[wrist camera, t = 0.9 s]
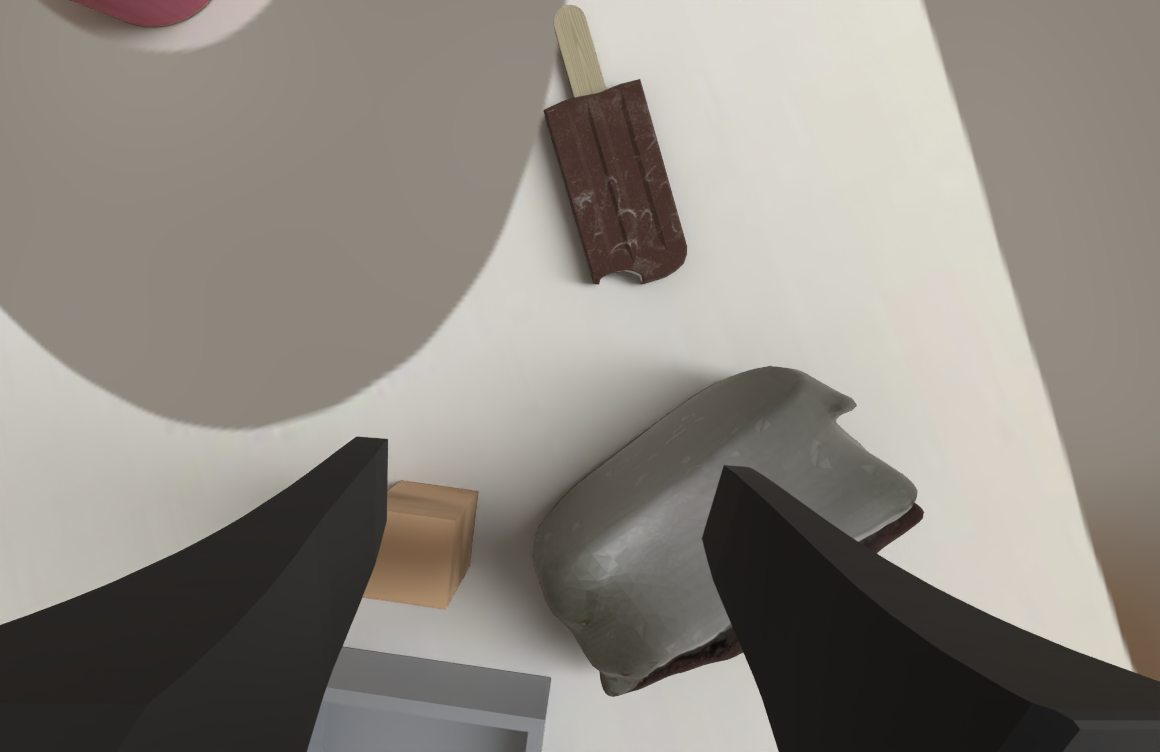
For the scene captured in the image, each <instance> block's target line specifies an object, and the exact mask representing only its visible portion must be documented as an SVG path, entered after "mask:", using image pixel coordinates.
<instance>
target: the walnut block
mask: <svg viewBox="0 0 1160 752" xmlns="http://www.w3.org/2000/svg"><path fill="white" fill-rule="evenodd" d="M477 499H478V491H473V490H466V489H459V488H452V487H444V486H437V485H430V484H423V483H416V482H409V481H400V482H399V483H397V484H396V485H395V486H393V487H392V488H391V489H389V490H388V491H387V522H386V526H385V530H384V534H383V538H382V542H381V546H380V549H379V553H378V556H377V560H376V564H375V567H374V569H373V572H372V574H371V577H370V579H369V582H368V584H367V587H366V589H365V592H364V594H363V598H370V599H377V600H384V601H391V602H398V603H405V604H411V605H418V606H425V607H432V608H439V609H446V608H447V606H448V604H449V602H450V601H451V599H452V597H453V595H454V593H455V592H456V590H457V588H458V586H459V584H460V583H461V581H462V579H463V577H464V575H465V574H466V572H467V570H468V568H469V566H470V558H471V549H472V541H473V533H474V524H475V516H476V507H477Z"/></svg>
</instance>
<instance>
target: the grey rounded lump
mask: <svg viewBox="0 0 1160 752" xmlns="http://www.w3.org/2000/svg"><path fill="white" fill-rule="evenodd" d="M856 406H857V405H856V403H855V402H854V400H853V399H852V398H850V397H848V396H846V395H844V394H841V393H839V392H838V391H836V390H834V389H832V388H830V387H828V386H827V385H825V384H823V383H821V382H820V381H818V380H816V379H814V378H813V377H811V376H809V375H808V374H806V373H804V372H802V371H799V370H796V369H789V368H781V367H772V366H768V367H763V368H757V369H752V370H749V371H746V372H742V373H739V374H737V375H734V376H732V377H729V378H727V379H724V380H722V381H720V382H718V383H716V384H714V385H712V386H710V387H709V388H707V389H705V390H703V391H702V392H700V393H698V394H697V395H695V396H693V397H692V398H690V399H689V400H687V401H686V402H685V403H683V404H682V405H680V406H679V407H677V408H676V409H675V410H673V411H672V412H671V413H669V414H668V415H666V416H665V417H664V418H662V419H661V420H660V421H658V422H657V423H656V424H655V425H653V426H652V427H651V428H649V429H648V430H647V431H646V432H644V433H643V434H642V435H641V436H639V437H638V438H637V439H635V440H634V441H633V442H632V443H630V444H629V445H628V446H626V447H625V448H624V449H622V450H621V451H620V452H618V453H617V454H616V455H614V456H613V457H612V458H610V459H609V460H608V461H607V462H605V463H604V464H603V465H601V466H600V467H599V468H598V469H596V470H595V471H594V472H592V473H591V474H590V475H588V476H587V477H586V478H585V479H583V480H582V481H581V482H580V483H578V484H577V485H576V486H575V487H574V488H572V489H571V490H570V491H569V492H568V493H567V494H566V495H565V496H564V497H563V498H562V499H561V500H560V501H559V502H558V503H557V505H556V506H555V507H554V508H553V509H552V510H551V511H550V513H549V514H548V515H547V516H546V517H545V519H544V520H543V522H542V523H541V524H540V526H539V527H538V530H537V532H536V534H535V538H534V543H533V561H534V565H535V569H536V572H537V576H538V579H539V583H540V586H541V589H542V591H543V594H544V597H545V600H546V603H547V604H548V606H549V608H550V609H551V611H552V612H553V614H554V615H555V616H556V617H558V618H559V619H560V620H561V621H562V622H563V623H564V624H565V625H566V626H567V627H568V628H569V629H570V630H571V632H572V633H573V634H574V636H575V638H576V640H577V641H578V643H579V645H580V647H581V649H582V650H583V652H584V654H585V656H586V657H587V659H588V660H589V661H590V663H591V664H592V666H594V667H595V668H596V669H598V670H599V671H600V680H601V684H602V687H603V690H604V691H605V693H606V694H607V695H609V696H613V697H614V696H619V695H622V694H625V693H628V692H631V691H635V690H639V689H641V688H644V687H646V686H648V685H650V684H653V683H655V682H657V681H659V680H661V679H663V678H666V677H668V676H671V675H674V674H677V673H682V672H686V671H688V670H691V669H694V668H697V667H700V666H703V665H706V664H709V663H714V662H719V661H724V660H728V659H730V658H733V657H735V656H737V655H739V654H741V653H743V650H742V648H741V646H740V643H739V641H738V639H737V636H736V634H735V632H734V629H733V627H732V625H731V622H730V620H729V618H728V615H727V613H726V611H725V608H724V606H723V603H722V601H721V599H720V596H719V594H718V591H717V589H716V586H715V584H714V581H713V579H712V575H711V572H710V568H709V565H708V561H707V557H706V553H705V549H704V545H703V541H702V536H703V533H704V529H705V526H706V523H707V519H708V516H709V513H710V509H711V506H712V503H713V499H714V496H715V493H716V489H717V486H718V483H719V479H720V476H721V473H722V469H723V466H724V465H729V466H742V467H750V468H752V469H754V470H756V471H757V472H759V473H760V474H762V475H764V476H765V477H767V478H768V479H770V480H771V481H772V482H774V483H775V484H777V485H778V486H780V487H781V488H782V489H784V490H785V491H787V492H788V493H789V494H791V495H792V496H793V497H795V498H796V499H798V500H799V501H800V502H802V503H803V504H805V505H806V506H807V507H809V508H810V509H811V510H813V511H814V512H816V513H817V514H818V515H820V516H821V517H823V518H824V519H826V520H827V521H828V522H830V523H831V524H833V525H834V526H836V527H837V528H838V529H840V530H841V531H843V532H844V533H846V534H847V535H849V536H850V537H852V538H853V539H855V540H856V541H858V542H859V543H861V544H863V545H864V546H866V547H867V548H869V549H870V550H872V551H873V552H875V553H878V552H879V551H880V550H881V549H883V548H884V547H885V546H886V545H888V544H889V543H891V542H892V541H894V540H895V539H897V538H898V537H900V536H901V535H903V534H904V533H906V532H907V531H908V530H910V529H911V528H912V527H914V526H915V525H916V524H917V523H919V522H920V521H921V520H922V519H923V514H924V511H923V510H922V508H921V507H919V506H918V505H917V504H916V503H915V500H916V497H917V489H916V487H915V486H914V484H913V483H912V482H911V481H910V480H909V479H908V478H907V477H906V476H904V475H903V474H901V473H900V472H898V471H897V470H895V469H894V468H892V467H891V466H889V465H888V464H886V463H885V462H883V461H882V460H880V459H878V458H877V457H875V456H874V455H872V454H870V453H869V452H867V451H866V449H865V448H864V447H863V446H862V445H861V444H860V443H859V442H858V441H857V440H855V439H854V438H852V437H851V436H850V435H849V434H848V433H846V432H845V431H844V430H843V429H842V428H841V427H840V426H839V425H838V424H837V423H836V419H837V418H838V417H839V416H840V415H842V414H844V413H847V412H849V411H852V410H853V409H854V408H855V407H856Z"/></svg>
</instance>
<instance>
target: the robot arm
mask: <svg viewBox="0 0 1160 752" xmlns="http://www.w3.org/2000/svg"><path fill="white" fill-rule="evenodd" d="M387 469H388V439H380V438H367V437H355V438H354V439H353V440H351V441H350V442H349V443H347V444H346V445H344V446H343V447H342V448H340V449H339V450H338V451H336V452H335V453H334V454H332V455H331V456H330V457H329V458H327V459H326V460H325V461H323V462H322V463H321V464H319V465H318V466H317V467H315V468H314V469H313V470H311V471H310V472H309V473H307V474H306V475H304V476H303V477H302V478H300V479H299V480H297V481H296V482H295V483H293V484H292V485H291V486H289V487H288V488H286V489H285V490H283V491H282V492H280V493H279V494H277V495H276V496H274V497H272V498H271V499H269V500H268V501H266V502H265V503H263V504H262V505H260V506H259V507H257V508H256V509H254V510H253V511H251V512H249V513H248V514H246V515H245V516H243V517H241V518H240V519H238V520H236V521H235V522H233V523H231V524H230V525H228V526H226V527H224V528H223V529H221V530H219V531H217V532H215V533H213V534H212V535H210V536H208V537H206V538H204V539H202V540H200V541H198V542H197V543H195V544H193V545H191V546H189V547H187V548H185V549H183V550H181V551H179V552H177V553H175V554H173V555H171V556H169V557H166V558H164V559H162V560H160V561H158V562H156V563H153V564H151V565H149V566H147V567H145V568H142V569H140V570H138V571H136V572H134V573H132V574H129V575H127V576H125V577H123V578H121V579H119V580H116V581H114V582H112V583H109V584H107V585H105V586H102V587H100V588H97V589H95V590H92V591H90V592H87V593H85V594H82V595H80V596H77V597H75V598H72V599H70V600H67V601H65V602H62V603H59V604H57V605H54V606H51V607H49V608H46V609H43V610H41V611H38V612H35V613H33V614H30V615H28V616H25V617H22V618H19V619H16V620H13V621H11V622H8V623H5V624H2V625H0V752H307V750H308V746H309V743H310V740H311V736H312V733H313V730H314V726H315V723H316V720H317V716H318V713H319V710H320V706H321V703H322V700H323V696H324V693H325V690H326V688H327V685H328V682H329V679H330V676H331V674H332V671H333V668H334V666H335V663H336V661H337V658H338V656H339V653H340V651H341V649H342V646H343V644H344V641H345V639H346V636H347V634H348V631H349V629H350V626H351V624H352V622H353V619H354V617H355V614H356V612H357V609H358V607H359V604H360V602H361V599H362V597H363V594H364V592H365V589H366V587H367V584H368V582H369V579H370V577H371V574H372V572H373V569H374V567H375V564H376V560H377V556H378V553H379V549H380V546H381V542H382V538H383V534H384V530H385V526H386V522H387ZM702 541H703V545H704V549H705V553H706V557H707V561H708V565H709V568H710V572H711V575H712V579H713V581H714V584H715V586H716V589H717V591H718V594H719V596H720V599H721V601H722V603H723V606H724V608H725V611H726V613H727V615H728V618H729V620H730V622H731V625H732V627H733V629H734V632H735V634H736V636H737V639H738V641H739V643H740V646H741V648H742V650H743V653H744V655H745V657H746V660H747V662H748V664H749V667H750V669H751V671H752V674H753V676H754V679H755V681H756V684H757V686H758V689H759V692H760V694H761V697H762V700H763V703H764V706H765V709H766V712H767V716H768V719H769V722H770V725H771V728H772V731H773V735H774V738H775V741H776V744H777V747H778V751H779V752H1160V682H1159V681H1156V680H1153V679H1151V678H1148V677H1145V676H1142V675H1140V674H1137V673H1134V672H1131V671H1129V670H1126V669H1123V668H1120V667H1118V666H1115V665H1112V664H1109V663H1107V662H1104V661H1101V660H1098V659H1096V658H1093V657H1090V656H1087V655H1084V654H1082V653H1079V652H1076V651H1074V650H1071V649H1069V648H1066V647H1064V646H1061V645H1059V644H1057V643H1054V642H1052V641H1049V640H1047V639H1045V638H1042V637H1040V636H1037V635H1035V634H1033V633H1030V632H1028V631H1025V630H1023V629H1021V628H1018V627H1016V626H1014V625H1012V624H1010V623H1007V622H1005V621H1003V620H1001V619H998V618H996V617H994V616H992V615H990V614H988V613H986V612H984V611H981V610H979V609H977V608H975V607H973V606H971V605H969V604H967V603H965V602H963V601H961V600H959V599H957V598H955V597H953V596H951V595H949V594H947V593H945V592H943V591H941V590H939V589H937V588H935V587H934V586H932V585H930V584H928V583H926V582H924V581H923V580H921V579H919V578H917V577H916V576H914V575H912V574H910V573H909V572H907V571H905V570H903V569H902V568H900V567H898V566H896V565H894V564H893V563H891V562H890V561H888V560H886V559H885V558H883V557H881V556H880V555H878V554H876V553H875V552H873V551H872V550H870V549H869V548H867V547H866V546H864V545H863V544H861V543H859V542H858V541H856V540H855V539H853V538H852V537H850V536H849V535H847V534H846V533H844V532H843V531H841V530H840V529H838V528H837V527H836V526H834V525H833V524H831V523H830V522H828V521H827V520H826V519H824V518H823V517H821V516H820V515H818V514H817V513H816V512H814V511H813V510H811V509H810V508H809V507H807V506H806V505H805V504H803V503H802V502H800V501H799V500H798V499H796V498H795V497H793V496H792V495H791V494H789V493H788V492H787V491H785V490H784V489H782V488H781V487H780V486H778V485H777V484H775V483H774V482H772V481H771V480H770V479H768V478H767V477H765V476H764V475H762V474H760V473H759V472H757V471H756V470H754V469H752V468H750V467H742V466H729V465H724V466H723V469H722V473H721V476H720V479H719V483H718V486H717V489H716V493H715V496H714V499H713V503H712V506H711V509H710V513H709V516H708V519H707V523H706V526H705V529H704V533H703V536H702Z"/></svg>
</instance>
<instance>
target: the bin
mask: <svg viewBox="0 0 1160 752" xmlns="http://www.w3.org/2000/svg"><path fill="white" fill-rule="evenodd" d="M550 682H551V678H550V677H543V676H536V675H529V674H523V673H516V672H509V671H502V670H496V669H489V668H482V667H475V666H468V665H462V664H455V663H448V662H441V661H434V660H428V659H421V658H414V657H407V656H401V655H394V654H387V653H380V652H373V651H367V650H360V649H353V648H346V647H342V649H341V651H340V653H339V656H338V658H337V661H336V663H335V666H334V668H333V671H332V674H331V676H330V679H329V682H328V685H327V688H326V690H325V693H324V696H323V700H322V703H321V706H320V710H319V713H318V716H317V720H316V723H315V726H314V730H313V733H312V736H311V740H310V743H309V746H308V750H307V752H541V751H542V743H543V735H544V728H545V720H546V713H547V705H548V698H549V690H550Z"/></svg>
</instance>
